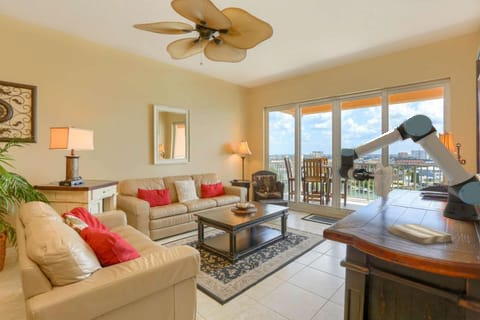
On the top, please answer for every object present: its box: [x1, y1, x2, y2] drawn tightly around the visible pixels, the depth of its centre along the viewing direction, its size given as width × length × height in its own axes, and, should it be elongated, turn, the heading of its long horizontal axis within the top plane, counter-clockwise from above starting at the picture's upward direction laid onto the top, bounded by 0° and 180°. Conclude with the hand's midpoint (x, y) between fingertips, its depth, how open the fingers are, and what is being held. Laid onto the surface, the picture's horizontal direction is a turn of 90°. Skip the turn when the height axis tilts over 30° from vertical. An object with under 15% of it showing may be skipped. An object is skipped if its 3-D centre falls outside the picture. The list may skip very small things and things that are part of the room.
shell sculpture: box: [373, 161, 393, 198], centre depth 125 cm, size 8×8×18 cm
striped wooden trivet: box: [387, 223, 453, 245], centre depth 106 cm, size 16×16×2 cm
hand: (389, 178), depth 120 cm, fingers closed on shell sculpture, 10 cm apart
